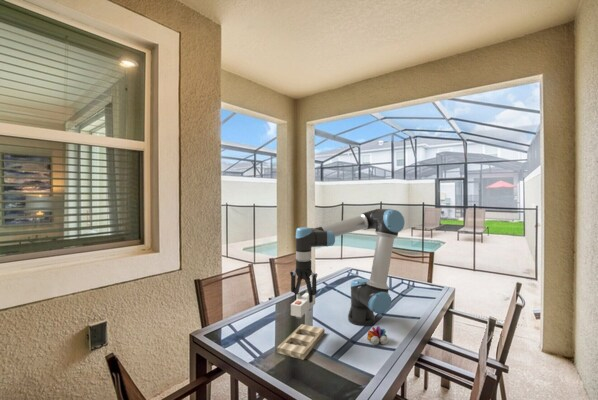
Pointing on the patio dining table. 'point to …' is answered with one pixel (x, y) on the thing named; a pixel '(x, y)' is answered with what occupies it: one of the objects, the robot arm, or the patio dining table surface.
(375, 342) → the rainbow stacked discs
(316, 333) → the square hole board
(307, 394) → the patio dining table surface
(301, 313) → the power strip
